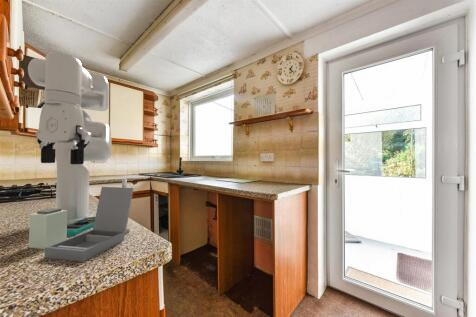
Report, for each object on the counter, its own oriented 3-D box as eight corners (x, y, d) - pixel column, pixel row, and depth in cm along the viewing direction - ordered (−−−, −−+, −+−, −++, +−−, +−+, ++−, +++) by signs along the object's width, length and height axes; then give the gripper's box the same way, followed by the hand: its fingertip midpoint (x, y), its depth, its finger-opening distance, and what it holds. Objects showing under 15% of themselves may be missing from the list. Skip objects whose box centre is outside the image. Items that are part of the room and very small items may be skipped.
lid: (101, 186, 59) (104, 187, 60) (92, 229, 56) (96, 229, 57) (132, 187, 57) (134, 188, 58) (124, 231, 54) (127, 231, 55)
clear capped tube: (116, 236, 58) (117, 179, 58) (122, 234, 60) (123, 178, 61) (123, 237, 58) (125, 179, 58) (129, 234, 60) (130, 178, 60)
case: (44, 261, 44) (44, 247, 44) (92, 240, 56) (92, 229, 56) (83, 265, 42) (83, 251, 42) (124, 242, 54) (124, 231, 54)
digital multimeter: (107, 224, 71) (107, 216, 71) (73, 240, 56) (73, 230, 56) (86, 224, 71) (86, 216, 71) (47, 240, 56) (47, 230, 56)
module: (28, 250, 49) (30, 211, 49) (50, 242, 54) (51, 207, 54) (45, 252, 48) (46, 212, 48) (66, 244, 53) (67, 208, 53)
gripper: (22, 98, 52) (20, 162, 52) (76, 96, 49) (74, 165, 49) (53, 105, 59) (52, 162, 59) (102, 104, 56) (101, 164, 56)
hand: (62, 163), depth 54 cm, fingers open, 9 cm apart
